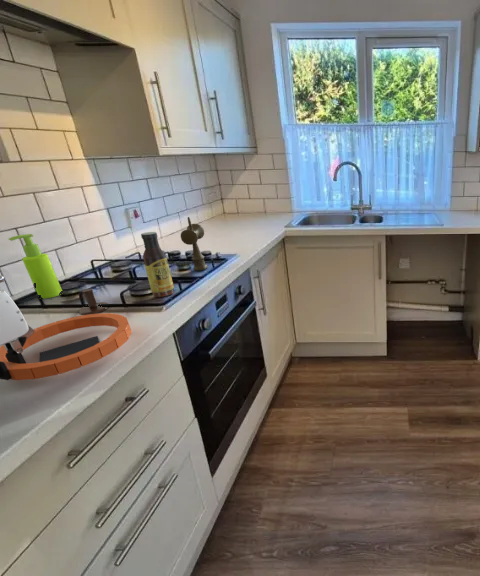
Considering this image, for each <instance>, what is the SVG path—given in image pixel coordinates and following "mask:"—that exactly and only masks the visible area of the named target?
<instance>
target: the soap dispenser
mask: <svg viewBox="0 0 480 576" xmlns="http://www.w3.org/2000/svg"><path fill="white" fill-rule="evenodd" d="M33 237H34V234H32V233H26V234H19V235H15V236H11V237H8V240H9V241H12V242H13V241H15V240H18V239H23V241H24V243H25V244H24V245H23V246H22V248H23V251H24V253H25V256H24V257H22V259H21V260H22V261H23V264H24V266H25V269H26V272H27V274H28V275H29V277H30V281H31V282H32V284H33V286H34V283H36V288H35V287H34V289H35V291H36V294H37V296H38V295H41V297H42V298H43V300H44V299H52V298H55V297H57V296H60V295H59V293H60V292H61V291H63V289H62V287H61V284H60V281H59V280H58V277H57V274H56V272H55V270H54V267H53V265H52V262H51V260H50V257H49V255H48V253H42V252H41V248H40V247H39V245H38V244H37V243H35V242H33V239H32V238H33Z"/></svg>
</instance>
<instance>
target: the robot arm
mask: <svg viewBox="0 0 480 576" xmlns="http://www.w3.org/2000/svg"><path fill="white" fill-rule="evenodd" d="M4 282H5V279H4V276H2V275H0V284H1V283H4ZM34 329H35V328H33V327H31V326H30V325H29V324H28V323H27V320H26V318H25V317H24V315H23V313H22V311H21V310H20V308H19V307H18V306H17V304H16V303H15V301H14V300H13V299H12V298H11V296H10V295H9V294H8V293H7V292H6V291H5V289H1V288H0V347H1V346H2V345H4V347H5V349H6V350H7V353H6V355H5V356H6V358H7V360H8V362H13V363H19V364H24V363H27V361H26V360H25V358H24V356H23V354H22V353H23V352H24V350H23V346H24V344H25V342H26V339H28V338H29V337H30V336H31V335H32V334H33V333H34V332H35V330H34ZM11 378H12V377H11V375H10V373H9V371H8V369H7V367H6V365H5V363H4V362H0V380H3V381H10V380H12V379H11Z"/></svg>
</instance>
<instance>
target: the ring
mask: <svg viewBox="0 0 480 576" xmlns="http://www.w3.org/2000/svg"><path fill="white" fill-rule="evenodd" d="M103 326H105V327H115V328H116V329H115V331H114V332H113V333H111V334H110V335H109V336H108V337H106V338H104V339H103V340H102V341H99V343H98V344H96V345H94V346H92V347H90V348H87V349H85V350H82V351H80V352H77V353H75V354H72V355H68V356H65V357H61V358H58V359H54V360H49V361H43V362H39V361H38V362H26V363H24V364H19V363H13V362H8V360H7V358H6V356H5V355H6V353H7V350H6V349H5V347H4V345H1V346H0V362H4V363H5V365H6V367H7V369H8V371H9V373H10V375H11V377H12V378H11V379H10V380H13V381H25V380H39V379H43V378H48V377H53V376H57V375H62V374H65V373H68V372H71V371H73V370H77V369H80V368H82V367H85V366H88V365H90V364H92V363H94V362H97V361H99V360H101V359H103V358H105V357H107V356H108V355H110V354H112V353H113V352H115V351H117V350H119V348H121V347H122V346H123V345H124V344H126V342H127V341H128V340H129V339H130V337H131V336H132V329H131V326H130V323H129V320H128V318H127V317H125V316H123V315H122V314H120V313H110V312H108V313H107V312H99V313H96V314H89V315H78V316H71V317H68V318H64V319H60V320H56V321H53V322H49V323H47V324H44V325H41V326H38V327H36V328H33V329H34V330H35V332H34V333H33V334H32V335H31V336H30V337H29V338H28V339H26V342H25V344H24V346H23V351H24V350H26V349H27V348H29V347H31V346H33V345H35V344H37V343H39V342H41V341H44V340H46V339H49V338H52V337H54V336H58V335H60V334H63V333H66V332H70V331H71V332H72V331H74V330H79V329H83V328H84V329H85V328H90V327H103Z"/></svg>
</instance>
